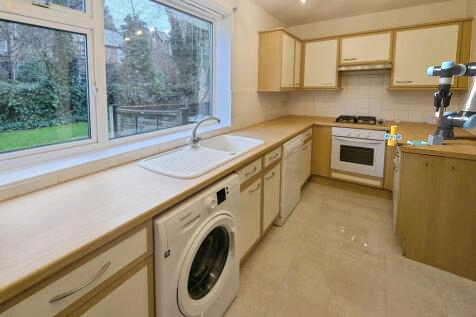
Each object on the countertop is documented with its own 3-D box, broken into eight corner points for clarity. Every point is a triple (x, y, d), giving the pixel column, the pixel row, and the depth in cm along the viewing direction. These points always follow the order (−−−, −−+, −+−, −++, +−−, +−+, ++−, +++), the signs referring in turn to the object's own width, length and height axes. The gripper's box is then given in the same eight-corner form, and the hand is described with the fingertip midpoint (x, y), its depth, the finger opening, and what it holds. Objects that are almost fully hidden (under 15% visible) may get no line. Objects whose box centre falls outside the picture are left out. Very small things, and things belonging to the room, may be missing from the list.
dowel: (436, 126, 211) (439, 103, 207) (440, 126, 209) (444, 104, 205) (434, 126, 210) (438, 104, 205) (439, 127, 207) (443, 104, 203)
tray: (421, 144, 217) (422, 141, 216) (428, 146, 207) (429, 143, 207) (406, 144, 218) (407, 140, 218) (412, 146, 209) (413, 143, 208)
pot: (436, 144, 216) (438, 134, 214) (442, 146, 209) (443, 136, 207) (427, 144, 217) (428, 134, 215) (432, 146, 210) (433, 136, 208)
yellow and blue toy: (402, 147, 208) (404, 127, 204) (387, 146, 210) (389, 127, 206) (396, 143, 220) (399, 125, 216) (382, 143, 222) (384, 124, 218)
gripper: (450, 83, 206) (445, 115, 212) (430, 84, 204) (425, 116, 210) (459, 83, 198) (453, 116, 204) (438, 84, 197) (433, 117, 203)
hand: (439, 116), depth 207 cm, fingers closed on dowel, 3 cm apart
